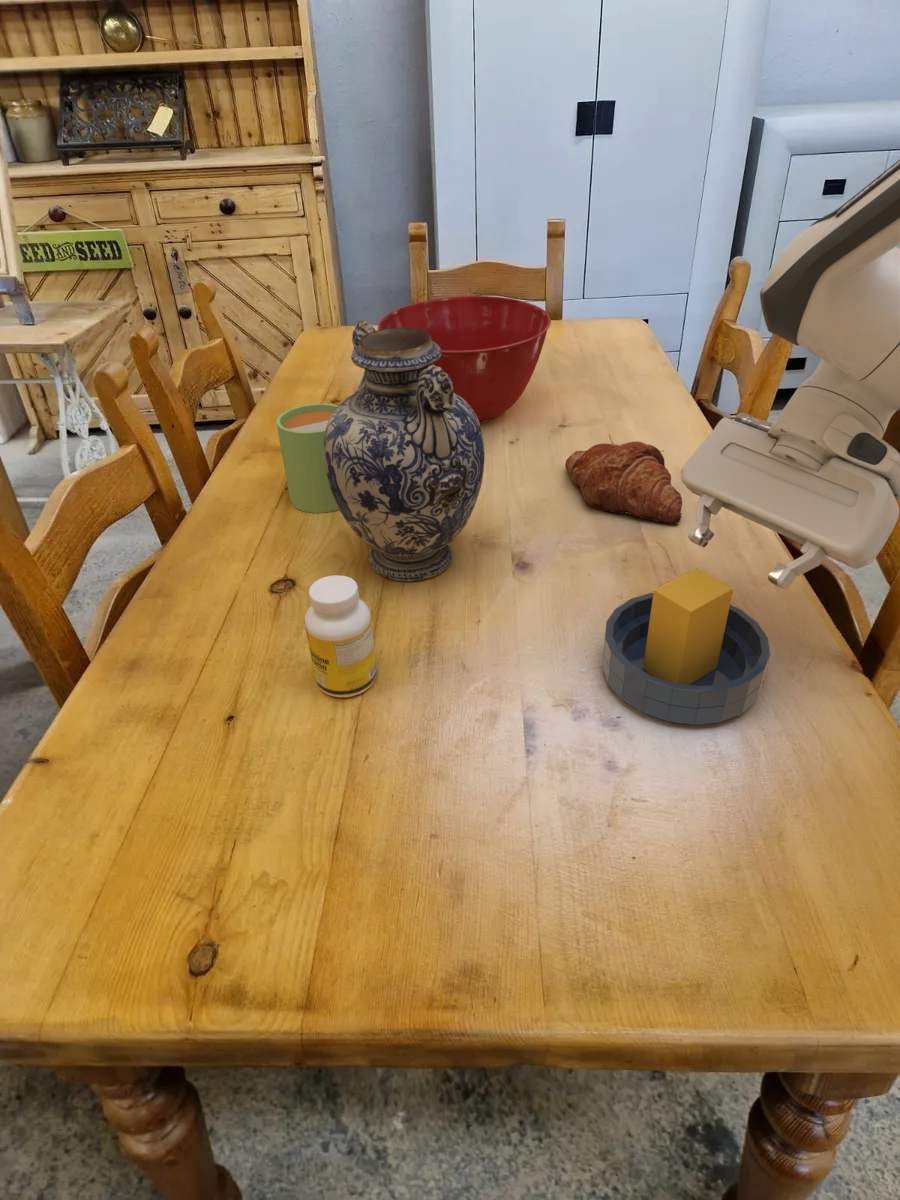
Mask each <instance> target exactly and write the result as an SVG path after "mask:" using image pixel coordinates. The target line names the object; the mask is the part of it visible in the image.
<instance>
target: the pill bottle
mask: <svg viewBox="0 0 900 1200" xmlns="http://www.w3.org/2000/svg"><path fill="white" fill-rule="evenodd" d="M308 596H309V603H310V606H309V607H308V609H307V611H306V612H305V615H304V625H305V627H304V628H305V631H306V638H307V642H308V648H309V653H310V659H311V664H312V670H313V675H314V681H315V683H316V685H317V687H318V689H319V690H320V691H322V692H323V693H324V694H326V695H328V696H331V697H335V698H350V697H354V696H357V695H361V694H362V693H364V692H366V691H367V690H368V689H370V688H371V687H372V686H373V685H374V683H375V681H376V678H377V675H378V667H377V666H378V665H377V659H376V651H375V642H374V633H373V632H374V631H373V626H372V625H373V624H372V615H371V611H370V608H369V606H368V605H367V603H366V602H365V601H364V600H363V599H361V598H360V591H359V586H358V583H357V582H356V581H355V580H354V579H353V578H352V577H350V576H346V575H341V574H340V575H339V574H336V575H335V574H334V575H327V576H323V577H322V578H319V579H316V580H315V581H314V582H313V583H312V584H311V585H310V587H309V590H308Z"/></svg>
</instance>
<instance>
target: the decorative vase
mask: <svg viewBox="0 0 900 1200" xmlns="http://www.w3.org/2000/svg"><path fill="white" fill-rule="evenodd" d="M354 327H355V328H354V330H353V331H352V335H351V342H352V345H353V351H351V357H350V359H351V362H352V363H353V364H354V365H355V366H356V367H358V368H361V369H364V371H363V374H362V377H361V380H360V383H359V384H358V386H357V387H356V390H355V391H354V393H352V394H351V395H349V396H347V398H345V399H344V400H342V401H341V402H340V403H339V404H337V405H338V406H337V408H336V409H335V410H334V412H333V413H332V415H331V417H330V419H329V421H328V423H327V426H326V430H325V435H324V461H325V468H326V473H327V478H328V482H329V485H330V488H331V491H332V494H333V497H334V499H335V501H336V503H337V505H338V507H339V509H340V510H339V512H340V513H341V515H342V516H343V518H344V520H345V522H346V523H347V524H348V526H349V528H350V529H351V530H352V532H353V533H354V534H355V535H356V536H357V537H358V538H359V540H360V541H362V543H364V544H365V545H366V546H368V547H369V548H370V550H369V553H368V563H369V566H370V568H371V569H372V570H373V572H374V573H376V574H377V575H379V576H381V577H383V578H385V579H388V580H392V581H396V582H397V581H398V582H419V581H424V580H428V579H432V578H434V577H436V576H439V575H440V574H442V573H443V572H445V571H446V570H447V569H448V568H449V567H450V565H451V563H452V561H453V551H452V548H451V545H449V544H451V543H452V542H453V541H454V540H455V539H456V538H457V537H458V536H459V535H460V534H461V532H462V531H463V530H464V528H465V527H466V525H467V523H468V522H469V519H470V518H471V515H472V513H473V511H474V508H475V506H476V504H477V500H478V498H479V494H480V492H481V487H482V483H483V477H484V471H485V470H484V469H485V442H484V435H483V431H482V426H481V422H479V420H478V418H477V416H476V414H475V412H474V411H473V409H472V408H471V407H470V405H469V404H468V403H467V402H466V401H465V400H464V399H463V398H461V397H460V396H458V395H457V394H455V393H453V392H454V389H453V386H452V381H451V378H450V376H449V375H448V374H446V373H444V372H443V371H442V369H441V368H440V367H437V366H435V365H433V364H432V363H434V362H435V361H437V360H438V359H439V358H440V356H441V354H442V351H441V348H440V347H439V345H438V344H437V343H435V342H433V341H432V340H431V336H430V335H429V334H428V333H426V332H424V331H422V330H418V329H412V328H401V327H398V328H386V329H381V330H378V329H377V330H376V328H375V327H374V326H373V325H372V324H370V323H368V322H367V321H366V320H358V321H356V323H355V326H354ZM431 364H432V365H431Z"/></svg>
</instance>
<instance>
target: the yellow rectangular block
mask: <svg viewBox="0 0 900 1200" xmlns="http://www.w3.org/2000/svg"><path fill="white" fill-rule="evenodd" d="M733 592H734V587H732V586H730V585H728V584H727V583H725V582H723V581H721V580H719V579H718V578H716V577H714V576H712V575H710V574H709V573H706V572H705V571H703V570H702V569H700V568H697V567H695V568H693V569H691V570H689V571H687V572H685V573H683V574H682V575H679V576H678V577H675V578H674V579H671V580H670V581H668V582H666V583H663V584H662V585H660V586H658V587H656V588H654V589H653V592H652V593H653V600H652V608H651V615H650V622H649V629H648V636H647V643H646V651H645V658H644V665H643V670H645V671H646V672H648V673H649V674H651V675H652V676H654V677H657V678H660V679H663V680H666V681H669V682H672V683H678V684H686V685H690V684H692V683H693V682H695V681H697V680H698V679H700V678H701V677H703V676H705V675H706V674H708V673H710V672H711V671H713V670H715V669H716V668H717V664H718V659H719V655H720V650H721V645H722V640H723V636H724V631H725V626H726V622H727V617H728V612H729V607H730V604H731V602H732V597H733Z"/></svg>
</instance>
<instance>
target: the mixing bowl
mask: <svg viewBox="0 0 900 1200" xmlns="http://www.w3.org/2000/svg"><path fill="white" fill-rule="evenodd" d="M551 323H552V318H551V316H550V314H549V312H547V311H546V310H544V309H543V308H541V307H540V306H537V305H536V304H533V303H530V302H527V301H523V300H520V299H514V298H510V297H509V298H508V297H502V296H489V295H460V296H459V295H458V296H445V297H438V298H432V299H426V300H422V301H417V302H413V303H411V304H407V305H403V306H401V307H399V308H396V309H394V310H392V311H390V312H389V313H387V314H386V315H384V316H383V317H382V318H381V319H380V320H379V322H378V325H377V330H381V329H386V328H398V327H401V328H412V329H418V330H422V331H424V332H426V333H428V334H429V335H430V336H431V340H432V341H433V342H435V343H437V344H438V345H439V347H440V348H441V351H442V354H441V356H440V358H439V359H438V360H437V361H435V362H434V363H432V364H433V365H435V366H437V367H440V368H441V369H442V371H443V372H444V373H446V374H448V375H449V376H450V378H451V381H452V386H453V389H454V392H453V393H455V394H457V395H458V396H460V397H461V398H463V399H464V400H465V401H466V402H467V403H468V404H469V405H470V407H471V408H472V409H473V411H474V412H475V414H476V416H477V418H478V420H479V423H483V422H486V421H490V420H493V419H495V418H497V417H498V416H499V417H500V415H501V414H503V413H505V412H506V411H508V410H509V409H510V408H512V407H513V406H514V405H515V404H516V403H517V402H518V401H519V399H520V398H521V397H522V395H523V394H524V392H525V390H526V388H527V387H528V385H529V382H530V380H531V378H532V377H533V374H534V372H535V369H536V367H537V364H538V361H539V359H540V356H541V353H542V350H543V347H544V344H545V340H546V337H547V333H548V330H549V328H550V327H551ZM432 364H431V365H432Z"/></svg>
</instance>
